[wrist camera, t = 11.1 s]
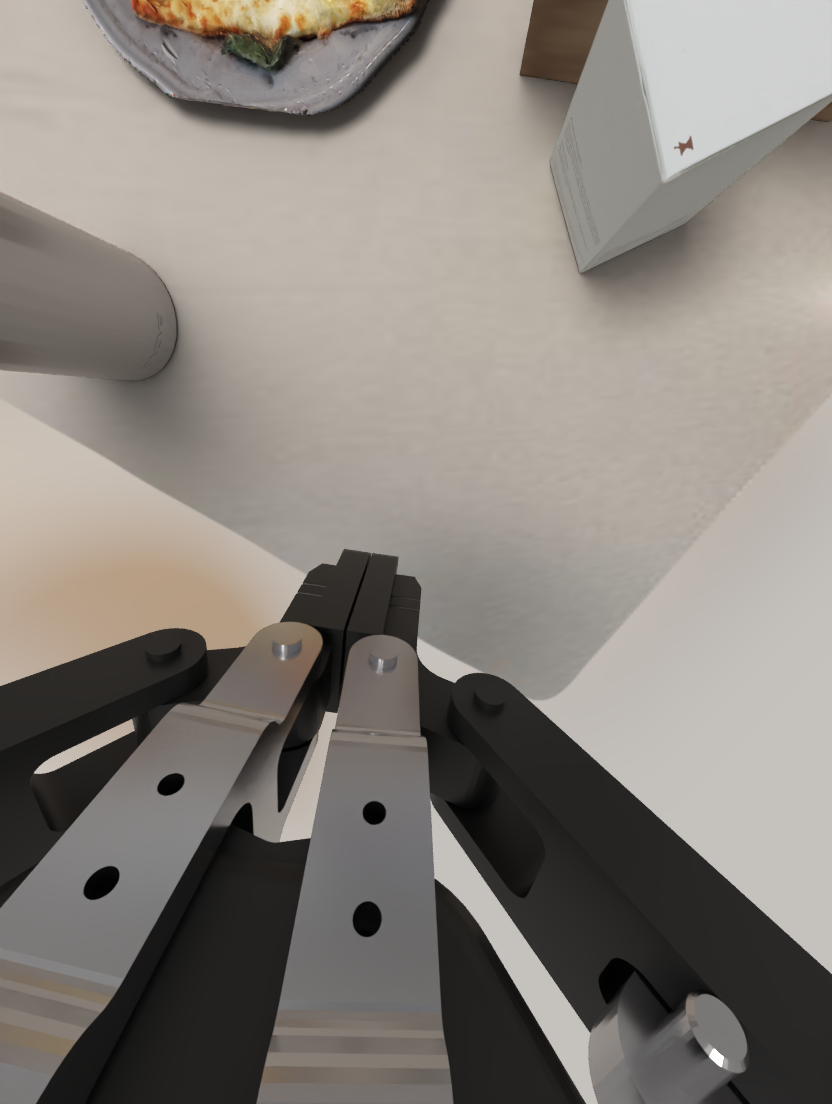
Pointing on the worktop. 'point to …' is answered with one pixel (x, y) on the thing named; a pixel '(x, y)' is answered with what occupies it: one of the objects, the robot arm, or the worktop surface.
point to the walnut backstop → (571, 41)
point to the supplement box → (682, 111)
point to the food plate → (259, 47)
